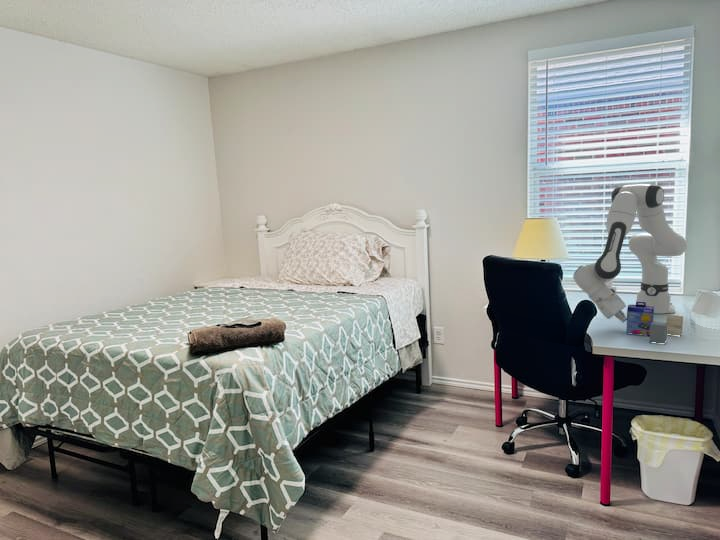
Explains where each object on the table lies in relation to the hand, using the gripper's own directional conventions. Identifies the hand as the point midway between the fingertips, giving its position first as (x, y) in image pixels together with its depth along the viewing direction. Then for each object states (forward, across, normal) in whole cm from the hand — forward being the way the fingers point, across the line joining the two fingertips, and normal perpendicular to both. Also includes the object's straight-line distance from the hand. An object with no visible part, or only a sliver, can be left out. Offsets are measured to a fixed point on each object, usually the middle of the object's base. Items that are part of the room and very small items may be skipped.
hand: (625, 321), depth 217 cm
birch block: (+16, +6, -9) cm, 19 cm away
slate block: (+14, -9, -7) cm, 18 cm away
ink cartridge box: (+8, 0, 0) cm, 8 cm away
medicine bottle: (-15, +65, +22) cm, 70 cm away
